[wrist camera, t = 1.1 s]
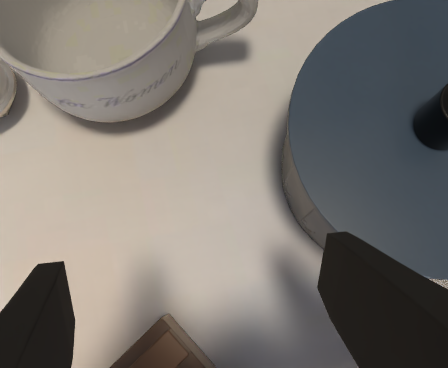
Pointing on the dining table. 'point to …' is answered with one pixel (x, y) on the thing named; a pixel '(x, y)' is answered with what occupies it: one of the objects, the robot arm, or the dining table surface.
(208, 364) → the trivet
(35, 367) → the robot arm
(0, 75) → the screw
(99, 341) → the dining table surface
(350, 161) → the pot lid
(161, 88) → the teacup
